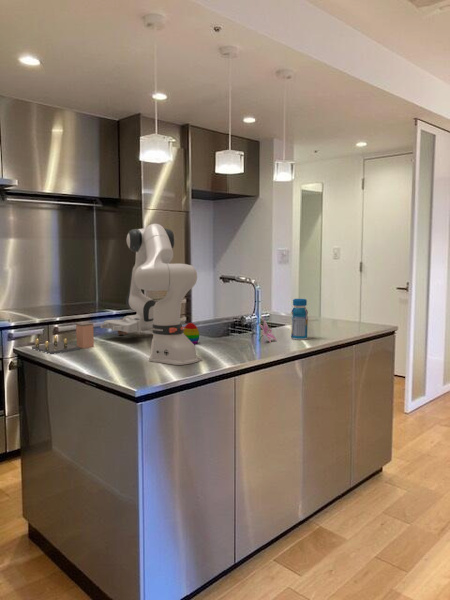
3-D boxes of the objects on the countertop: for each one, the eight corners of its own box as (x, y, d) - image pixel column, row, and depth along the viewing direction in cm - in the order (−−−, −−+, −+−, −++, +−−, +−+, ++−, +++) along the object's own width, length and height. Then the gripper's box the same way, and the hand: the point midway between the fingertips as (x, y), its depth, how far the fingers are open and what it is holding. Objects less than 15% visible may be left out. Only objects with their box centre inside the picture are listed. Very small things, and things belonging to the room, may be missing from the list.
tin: (121, 336, 252) (121, 320, 251) (116, 336, 253) (115, 320, 252) (132, 331, 267) (132, 316, 266) (127, 331, 267) (127, 316, 266)
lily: (258, 346, 229) (268, 329, 227) (246, 333, 238) (255, 317, 236) (275, 351, 236) (285, 334, 234) (263, 338, 245) (272, 322, 243)
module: (93, 346, 224) (93, 323, 223) (83, 348, 220) (82, 324, 219) (87, 345, 228) (86, 322, 227) (76, 347, 224) (76, 323, 222)
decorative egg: (179, 344, 230) (178, 323, 229) (188, 341, 237) (187, 321, 236) (193, 345, 226) (193, 324, 225) (202, 342, 233) (202, 322, 232)
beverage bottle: (296, 340, 238) (297, 300, 236) (287, 337, 245) (288, 298, 243) (311, 339, 241) (311, 299, 239) (301, 336, 249) (302, 298, 247)
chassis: (79, 349, 218) (79, 339, 217) (50, 354, 207) (50, 343, 207) (60, 344, 229) (60, 334, 229) (32, 349, 219) (31, 338, 218)
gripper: (117, 316, 249) (94, 318, 239) (142, 320, 235) (119, 323, 225) (118, 328, 250) (95, 331, 240) (143, 332, 236) (119, 336, 226)
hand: (106, 327), depth 232 cm, fingers open, 8 cm apart
